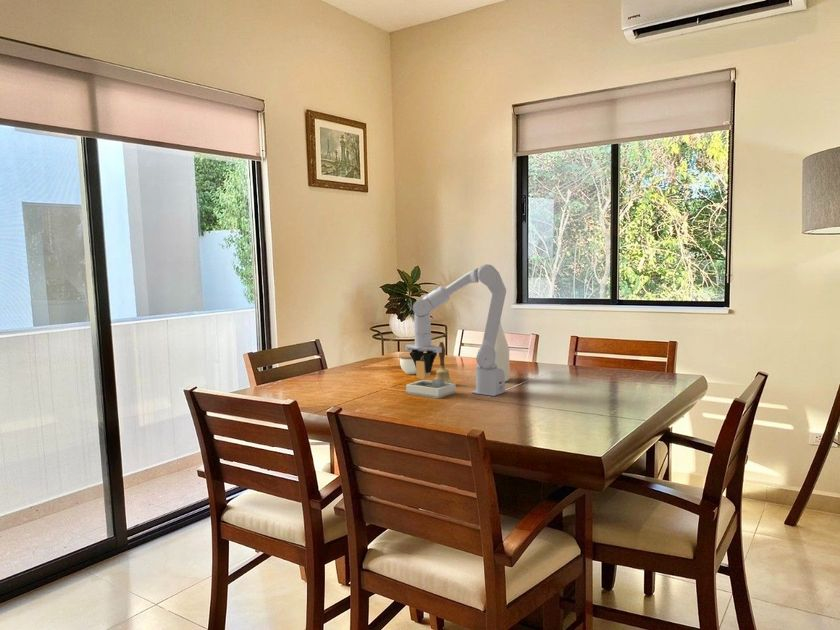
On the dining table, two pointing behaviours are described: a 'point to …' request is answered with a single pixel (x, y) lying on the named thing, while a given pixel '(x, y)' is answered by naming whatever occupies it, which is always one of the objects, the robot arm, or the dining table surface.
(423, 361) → the tan wooden block
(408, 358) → the lidded jar
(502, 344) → the wine bottle
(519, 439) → the dining table surface
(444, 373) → the hand bell
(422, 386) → the box
